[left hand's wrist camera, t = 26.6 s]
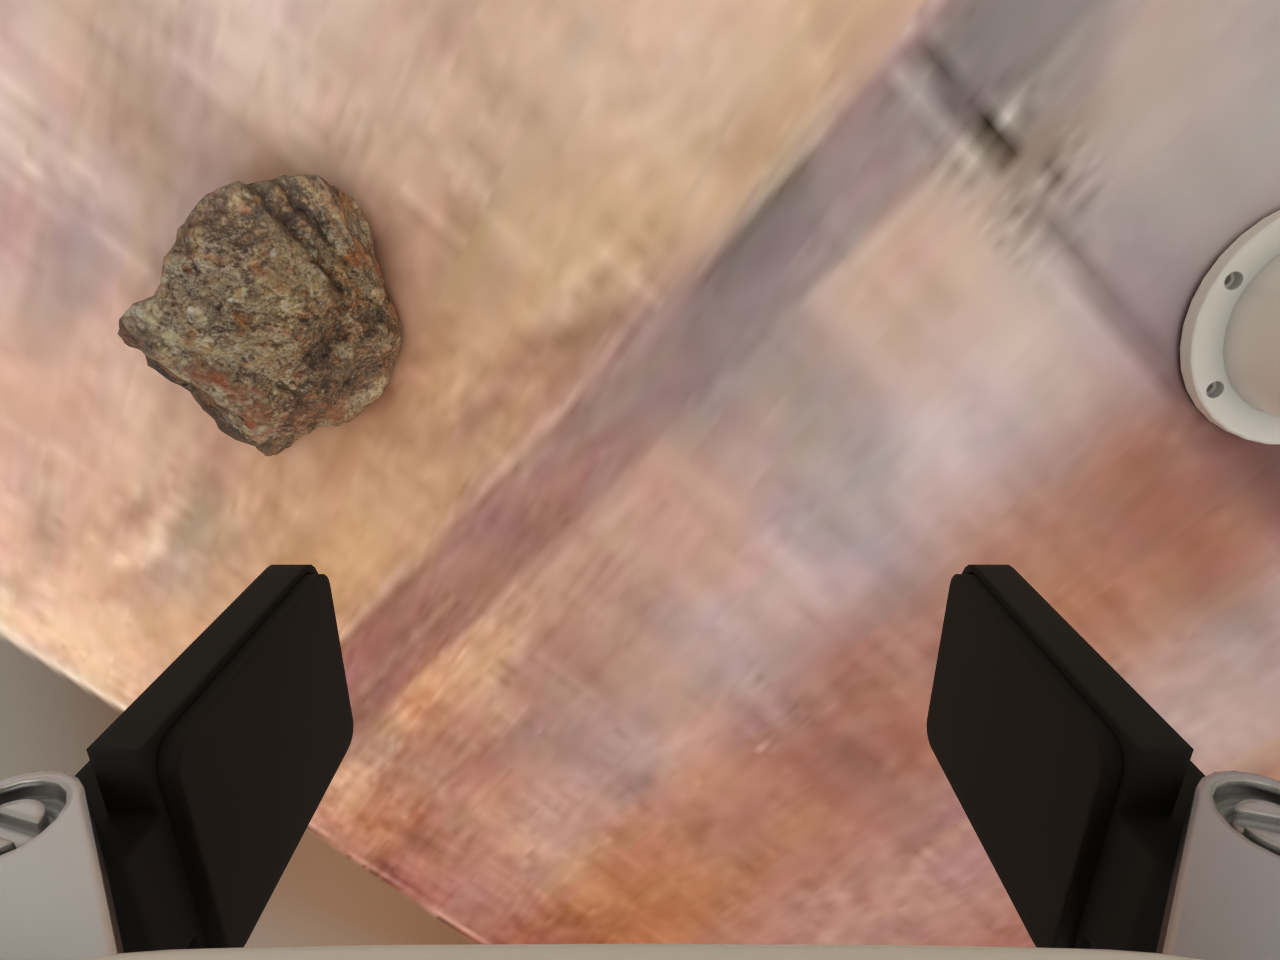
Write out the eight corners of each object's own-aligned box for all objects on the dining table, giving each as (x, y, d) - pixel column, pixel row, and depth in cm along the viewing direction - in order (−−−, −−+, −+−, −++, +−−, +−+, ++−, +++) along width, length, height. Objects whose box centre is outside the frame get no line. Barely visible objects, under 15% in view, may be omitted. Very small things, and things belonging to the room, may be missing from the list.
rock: (149, 331, 39) (288, 472, 42) (14, 375, 32) (195, 545, 34) (335, 150, 35) (475, 320, 38) (232, 149, 27) (419, 364, 30)
